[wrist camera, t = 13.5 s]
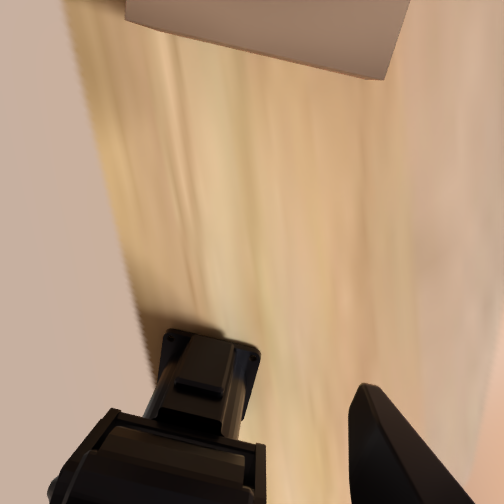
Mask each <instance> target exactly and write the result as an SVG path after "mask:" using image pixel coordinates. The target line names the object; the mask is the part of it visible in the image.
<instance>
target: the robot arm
mask: <svg viewBox="0 0 504 504" xmlns="http://www.w3.org/2000/svg"><path fill="white" fill-rule="evenodd" d="M170 336H173V337H174V338H171V337H170ZM251 355H254V356H256V357H251ZM260 359H261V353H260V351H259V350H258V349H255V348H251V347H247V346H243V345H239V344H235V343H230V342H226V341H222V340H218V339H214V338H209V337H205V336H201V335H197V334H193V333H188V332H184V331H180V330H176V329H168V330H167V331H166V332H165V334H164V336H163V343H162V350H161V358H160V365H159V373H158V380H157V386H156V388H155V390H154V393H153V395H152V397H151V400H150V401H149V404H148V406H147V408H146V410H145V413H144V415H143V417H140V416H135V415H131V414H127V413H123V412H121V410H118V409H114V408H111V409H110V410H109V411H108V412H107V414H106V415H105V416H104V417H103V419H100V421H99V422H98V423H97V424H96V426H95V427H94V428H93V429H92V431H91V432H90V433H89V434H88V436H87V437H86V438H85V439H84V441H83V442H82V443H81V444H80V446H79V447H78V448H77V449H76V451H75V452H74V453H73V454H72V456H71V457H70V458H69V459H68V461H67V462H66V463H65V464H64V466H63V467H62V469H61V471H60V473H59V476H57V477H56V478H55V479H54V480H53V481H52V482H51V484H50V486H49V488H48V491H47V496H48V499H49V504H266V445H264V444H260V443H256V444H252V443H247V442H243V441H239V440H238V436H239V430H240V424H241V421H242V420H243V419H244V416H245V413H246V409H247V406H248V402H249V399H250V395H251V392H252V388H253V385H254V381H255V377H256V374H257V370H258V367H259V363H260ZM348 441H349V484H350V494H351V502H352V504H475V503H474V502H473V500H472V499H471V498H470V497H469V496H468V494H467V493H466V492H465V491H464V489H463V488H462V487H461V486H460V484H459V483H458V482H457V481H456V480H455V478H454V477H453V476H452V475H451V474H450V472H449V471H448V470H447V469H446V467H445V466H444V465H443V464H442V463H441V461H440V460H439V459H438V458H437V456H436V455H435V454H434V453H433V452H432V450H431V449H430V448H429V447H428V445H427V444H426V443H425V442H424V441H423V439H422V438H421V437H420V436H419V434H418V433H417V432H416V431H415V430H414V428H413V427H412V426H411V425H410V424H409V422H408V421H407V420H406V419H405V417H404V416H403V415H402V414H401V413H400V411H399V410H398V409H397V408H396V406H395V405H394V404H393V403H392V402H391V400H390V399H389V398H388V397H387V395H386V394H385V393H384V392H383V391H382V389H381V388H380V387H378V386H376V385H372V384H368V383H361V384H360V385H359V387H358V389H357V392H356V394H355V396H354V398H353V401H352V403H351V405H350V408H349V413H348Z"/></svg>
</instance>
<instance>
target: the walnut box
mask: <svg viewBox="0 0 504 504" xmlns="http://www.w3.org/2000/svg"><path fill="white" fill-rule="evenodd" d="M409 3H410V0H126V8H125V20H127V21H130V22H133V23H136V24H139V25H142V26H145V27H148V28H151V29H154V30H157V31H160V32H165V33H169V34H173V35H178V36H182V37H186V38H190V39H195V40H199V41H203V42H208V43H212V44H216V45H220V46H225V47H229V48H233V49H238V50H242V51H246V52H250V53H255V54H259V55H263V56H268V57H272V58H276V59H281V60H285V61H289V62H293V63H298V64H302V65H306V66H311V67H315V68H319V69H323V70H328V71H332V72H336V73H341V74H345V75H349V76H354V77H358V78H362V79H367V80H384V79H385V76H386V72H387V69H388V66H389V63H390V60H391V57H392V54H393V51H394V48H395V45H396V42H397V39H398V36H399V33H400V30H401V27H402V24H403V21H404V18H405V15H406V12H407V9H408V6H409Z"/></svg>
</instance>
